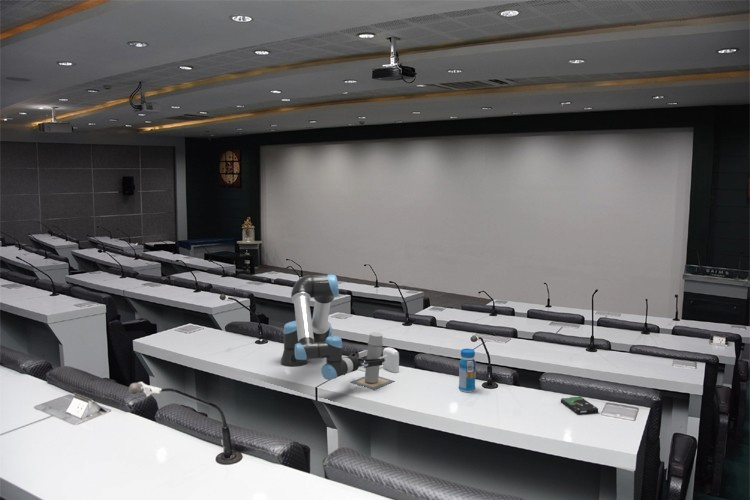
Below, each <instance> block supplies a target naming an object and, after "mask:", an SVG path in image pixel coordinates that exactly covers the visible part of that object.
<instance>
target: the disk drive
mask: <svg viewBox="0 0 750 500" xmlns="http://www.w3.org/2000/svg"><path fill="white" fill-rule="evenodd" d="M560 403H561V404H562V405H563V406H565V407H566V408H567V409H569V410H570V411H572V412H573V413H574V414H575V415H577V416H581V415H592V414H593V415H594V414H595V415H597V414H599V408H598V407H597V406H595V405H593V404H592V403H591V402H589V401H588V400H586V399H585V398H583V397H582V396H571V397H562V398H561V399H560Z"/></svg>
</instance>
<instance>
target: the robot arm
mask: <svg viewBox="0 0 750 500" xmlns="http://www.w3.org/2000/svg"><path fill="white" fill-rule="evenodd" d="M338 283H339V282H338V277H337V276H336V274H316V275H315V274H313V275H310V274H309V275H304V276H302V277H299V279H297V281H296V282H295V283H294V285H293V287H292V289H291V292H290V293H291V294H290V295H291V296H290V297H291V302H292V303H293V305H294V314H295V315H294V316H295V320H293V321H289V322H286V323H285V324H284V326H283V352H282V355H281V359H280V364H281V365H283V366H287V367H301V366H304V365H307V364H308V363H309V361H308V360H315V359H325V363H324V364H323V365H322V366H321V371H320V372H321V376H322V377H323V378H324V379H325V380H328V381H329V380H333V379H337V378H338V377H342V376H346V375H347V374H350V373H354V372H356V371H358V370H359V368H360V367H363V368H365V369H366V368H367V367H372V366H380V367H381V366H383V362H385V361H388V355H385V356H383V355H382V356H381V357H380V358H378V359H367V351H368V349H365V350H362V351H360V352H358V350H357V351H355V352H353V351H352V352H350V354H349V355H348V356H345V357H343V344H342V343H343V341H342V337H339V336H338V335H337V336H336V335H333V336H332V333H333V332H332V331H333V328H332V324H331V323H330V321H329V314H330V309H331V303H332V302H333V301H334V300H335V298H337V297H339V294H340V291H339V284H338ZM311 298H312V299H313V300H314V304H313V306H314V307H313V312H312V313H311V306H310V301H311ZM364 357H365V358H364Z"/></svg>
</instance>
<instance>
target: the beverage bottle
mask: <svg viewBox="0 0 750 500" xmlns="http://www.w3.org/2000/svg"><path fill="white" fill-rule="evenodd" d="M475 354H476V351H475V349H473V348H462V349H461V350H460V357H461V359H460V360H459V363H458V364H459V366H458V372H459V374H458V389H459V391H460V392H464V393H472V392H473V393H474V392H475V390H476V372H477V367H476V366H477V363H476V360H475V356H476V355H475Z"/></svg>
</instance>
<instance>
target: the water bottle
mask: <svg viewBox="0 0 750 500" xmlns="http://www.w3.org/2000/svg"><path fill="white" fill-rule="evenodd" d="M383 345H384V344H383V333H380V332H376V331H373V332H372V331H371V332H370V333H369V337H368V340H367V350H368V351H367V356H366V359H378V358H380V357H382V349H383V348H382V347H383ZM380 367H381V365H380V366H372V367H367V368H365V370H364V371H365V372H364V377H365V381H366V382H368V383H376V382H378V377H380V376H379V375H380Z"/></svg>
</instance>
